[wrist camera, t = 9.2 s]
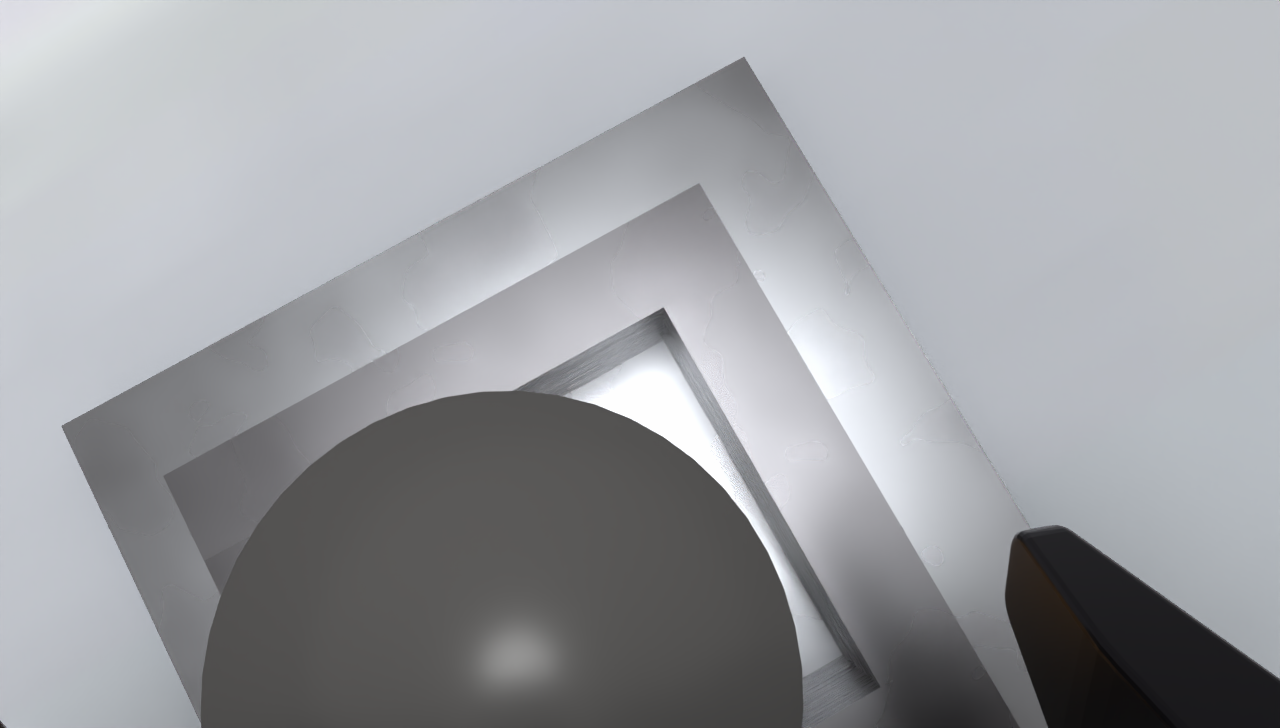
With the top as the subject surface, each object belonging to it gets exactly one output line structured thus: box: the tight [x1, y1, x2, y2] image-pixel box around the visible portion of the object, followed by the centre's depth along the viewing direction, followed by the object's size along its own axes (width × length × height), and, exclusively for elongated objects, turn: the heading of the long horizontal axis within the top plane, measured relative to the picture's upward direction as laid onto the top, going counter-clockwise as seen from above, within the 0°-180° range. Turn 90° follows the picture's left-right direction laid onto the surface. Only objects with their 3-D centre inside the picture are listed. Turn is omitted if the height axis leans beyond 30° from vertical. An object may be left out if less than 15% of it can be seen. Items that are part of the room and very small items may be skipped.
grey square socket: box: [62, 57, 1048, 728], centre depth 16 cm, size 14×14×4 cm
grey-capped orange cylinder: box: [201, 391, 804, 728], centre depth 12 cm, size 4×4×10 cm
